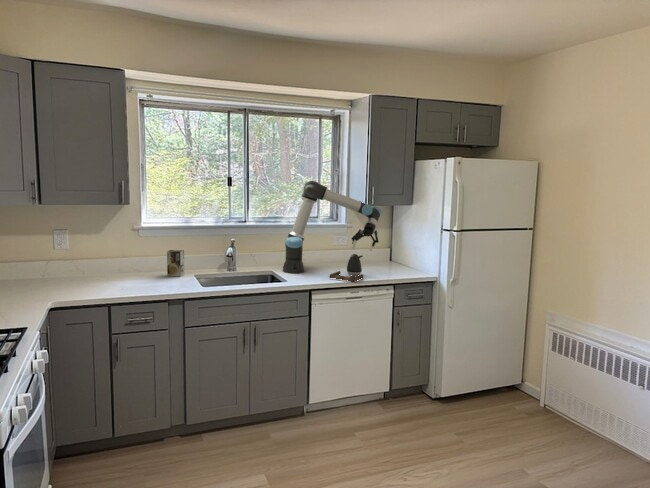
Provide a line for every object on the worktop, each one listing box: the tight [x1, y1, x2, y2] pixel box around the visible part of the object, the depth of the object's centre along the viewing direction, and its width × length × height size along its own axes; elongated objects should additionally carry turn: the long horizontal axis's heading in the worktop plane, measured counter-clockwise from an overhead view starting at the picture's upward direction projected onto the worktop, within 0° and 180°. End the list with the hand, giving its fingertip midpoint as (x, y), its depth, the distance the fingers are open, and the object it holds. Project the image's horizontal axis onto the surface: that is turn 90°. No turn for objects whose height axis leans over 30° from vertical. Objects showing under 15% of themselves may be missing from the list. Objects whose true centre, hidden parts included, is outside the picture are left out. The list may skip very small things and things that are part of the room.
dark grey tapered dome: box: [346, 253, 363, 277], centre depth 326 cm, size 10×10×15 cm
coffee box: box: [166, 249, 185, 277], centre depth 307 cm, size 9×6×16 cm
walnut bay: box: [328, 271, 364, 283], centre depth 316 cm, size 18×14×3 cm
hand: (361, 249), depth 334 cm, fingers open, 13 cm apart
